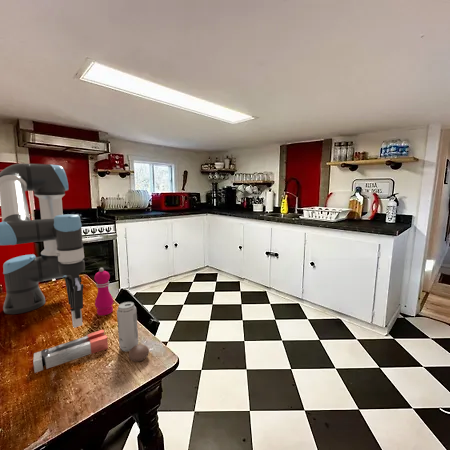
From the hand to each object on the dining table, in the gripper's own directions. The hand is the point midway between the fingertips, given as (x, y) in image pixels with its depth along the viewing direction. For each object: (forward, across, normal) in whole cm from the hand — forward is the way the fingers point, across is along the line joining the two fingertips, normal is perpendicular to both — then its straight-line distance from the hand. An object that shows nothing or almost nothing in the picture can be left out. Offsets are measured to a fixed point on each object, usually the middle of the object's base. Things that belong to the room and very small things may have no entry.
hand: (77, 325), depth 88 cm
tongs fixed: (+5, +8, -4) cm, 10 cm away
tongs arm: (+6, +6, -2) cm, 8 cm away
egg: (+5, +25, +10) cm, 27 cm away
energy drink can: (+6, +16, +11) cm, 20 cm away
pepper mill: (+6, -15, +14) cm, 22 cm away
